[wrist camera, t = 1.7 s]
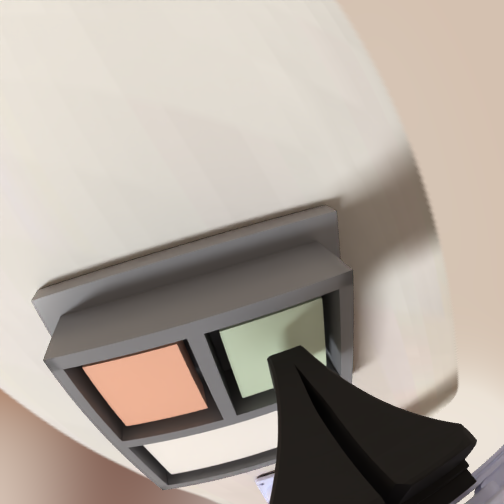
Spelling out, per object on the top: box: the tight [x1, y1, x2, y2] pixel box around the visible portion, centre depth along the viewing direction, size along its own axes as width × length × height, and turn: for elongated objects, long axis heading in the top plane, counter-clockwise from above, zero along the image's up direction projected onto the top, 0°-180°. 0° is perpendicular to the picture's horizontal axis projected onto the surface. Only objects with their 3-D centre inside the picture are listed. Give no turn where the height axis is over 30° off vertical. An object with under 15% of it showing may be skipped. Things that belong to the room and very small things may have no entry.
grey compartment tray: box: [31, 205, 354, 490], centre depth 14 cm, size 14×14×4 cm
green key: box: [219, 296, 326, 398], centre depth 13 cm, size 4×4×2 cm
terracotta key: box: [82, 340, 208, 426], centre depth 12 cm, size 4×4×2 cm
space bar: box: [143, 411, 278, 474], centre depth 15 cm, size 4×10×2 cm, turn 102°
